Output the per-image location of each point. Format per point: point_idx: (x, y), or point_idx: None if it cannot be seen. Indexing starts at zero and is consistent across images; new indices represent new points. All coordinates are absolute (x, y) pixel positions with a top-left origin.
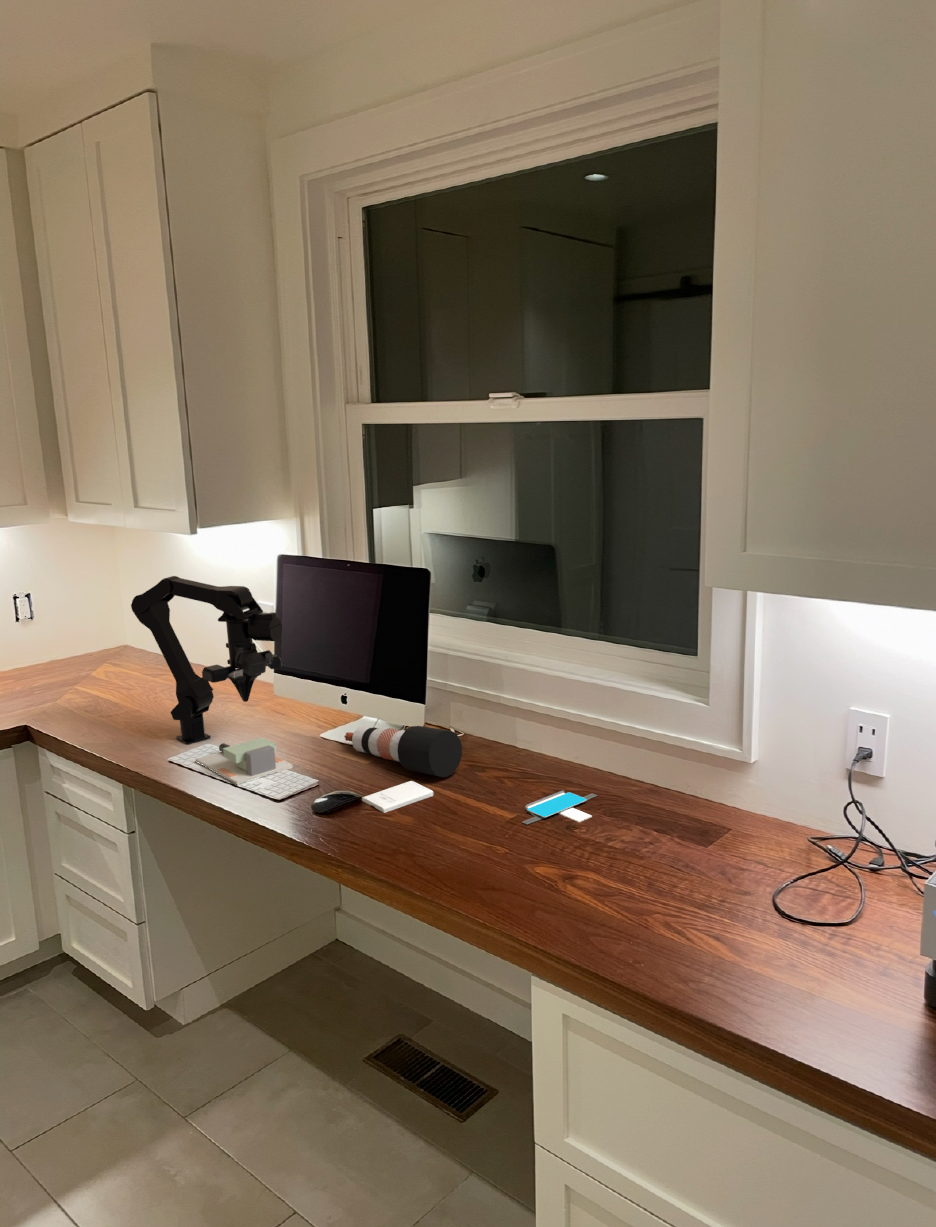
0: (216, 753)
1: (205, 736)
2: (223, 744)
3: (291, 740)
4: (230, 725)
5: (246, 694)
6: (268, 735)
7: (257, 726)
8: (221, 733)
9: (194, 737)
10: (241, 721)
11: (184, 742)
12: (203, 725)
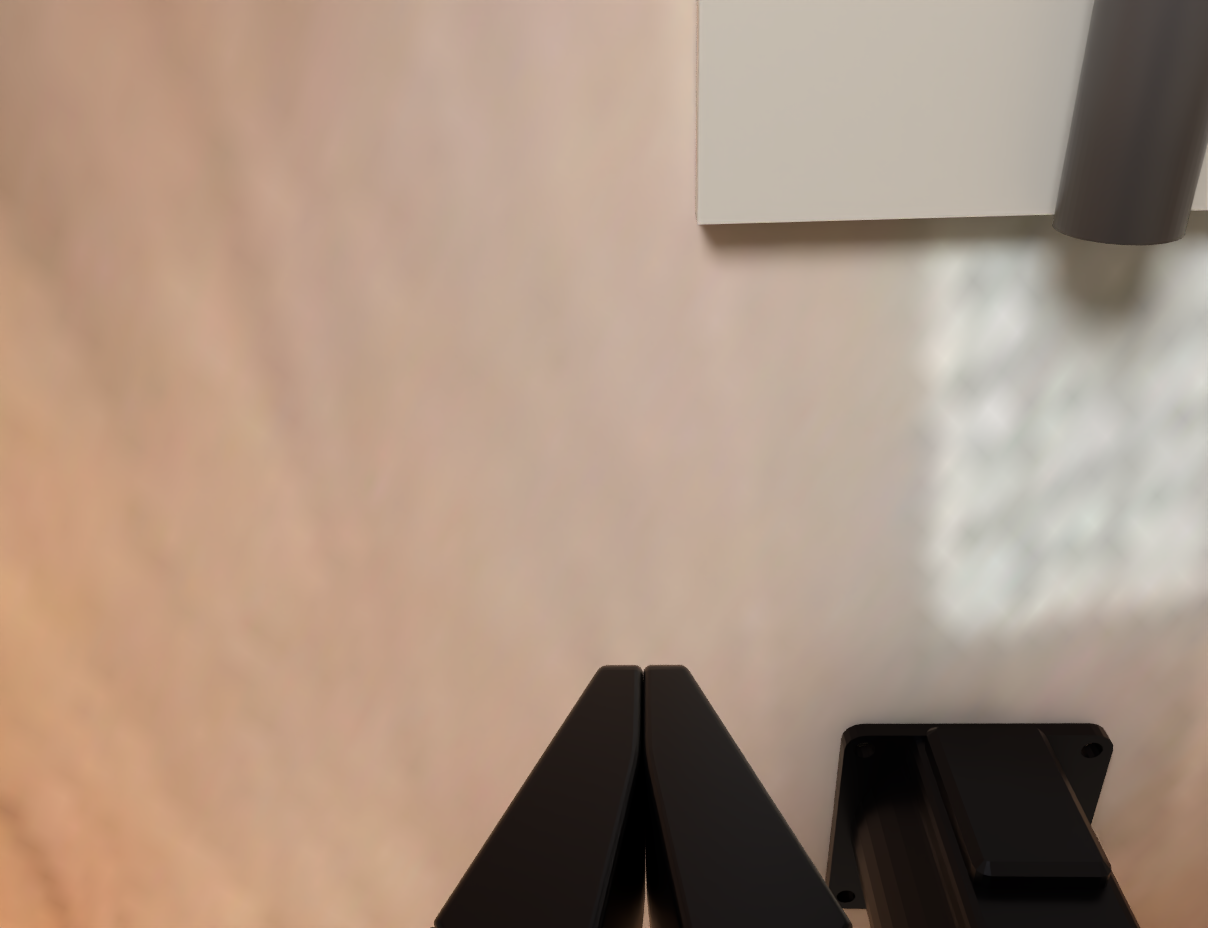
0: (1204, 196)
1: (885, 764)
2: (1168, 188)
3: (147, 28)
4: None
5: (634, 801)
6: (338, 415)
7: (334, 711)
8: None
9: (1052, 755)
10: (406, 889)
11: (1100, 770)
12: (967, 842)
